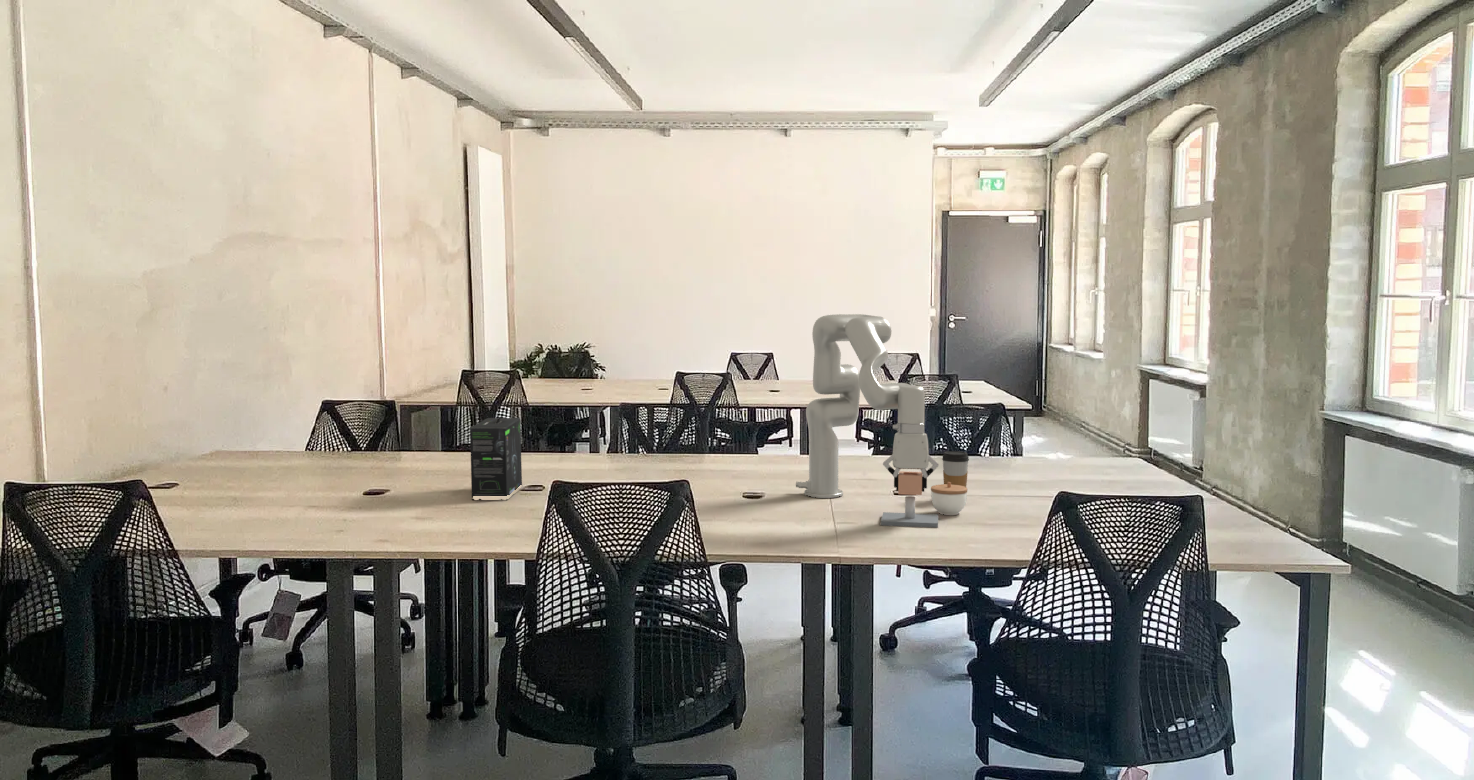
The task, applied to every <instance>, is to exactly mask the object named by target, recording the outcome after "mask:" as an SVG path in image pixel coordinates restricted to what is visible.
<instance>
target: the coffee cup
mask: <svg viewBox="0 0 1474 780" xmlns="http://www.w3.org/2000/svg"><path fill="white" fill-rule="evenodd" d="M941 460H942V468H943V469H942V472H943V473H942V474H943V475H942V476H943V484H947V482H951V485H960V486H964V487H966V488H967V485H968V484H967V482H968V474H969V471H968V470H969V469H968V467H969V461H970V459H969V456H968V452H966V451H959V450H949V451H948V450H947V451H944V452H943V455H942V458H941Z"/></svg>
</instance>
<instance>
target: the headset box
mask: <svg viewBox="0 0 1474 780" xmlns="http://www.w3.org/2000/svg"><path fill="white" fill-rule="evenodd" d="M521 424H522V423H521V418H520V417H512V418H510V417H509V418H507V417H504V418H503V415H501V416H499V417H488V418H485V419H483V420H481V421H480V422H478V423H476V424H474V425H472V426H471V427H470V428H469V438H470V441H469V442H470V476H471V477H470V479H471V497H472V496H507V495H510V494H511V493H512V492H513V491H514V490H516V489H517V488H518V487H519V486H520V485H522V486H523V478H522V477H523V476H522V470H523V469H522V437H521V436H522V435H521V434H522V432H521V431H522V430H521Z"/></svg>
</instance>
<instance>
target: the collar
mask: <svg viewBox="0 0 1474 780" xmlns="http://www.w3.org/2000/svg"><path fill="white" fill-rule="evenodd" d="M898 474H899V475H898V491H897V492H898V493H897V494H898V495H906V496H907V495H909V496H914V495H915V496H922V495H923V492H922V477H923V474H922V472H921V471H907V470H906V471H904V470H903V471H901V470H900V471H899V473H898Z"/></svg>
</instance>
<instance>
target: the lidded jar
mask: <svg viewBox="0 0 1474 780" xmlns="http://www.w3.org/2000/svg"><path fill="white" fill-rule="evenodd" d="M930 493H931V495H930V498H931V503H932V506H933V508H934V509H935V510H936V511H937V513H938V512H939V513H940V514H939V513H938V514H939V515H943V514H944V516H945V515H946V516H955V515H956V516H957V515H960V512H962V510H963V509H964V508H965V506H966V505H967V504H966V503H967V500H968V498H967V497H968V488H967V486H966V487H964V486H960V485H951V482H947V484H944V483H943V484H935V485H932V486H931V487H930Z"/></svg>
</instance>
